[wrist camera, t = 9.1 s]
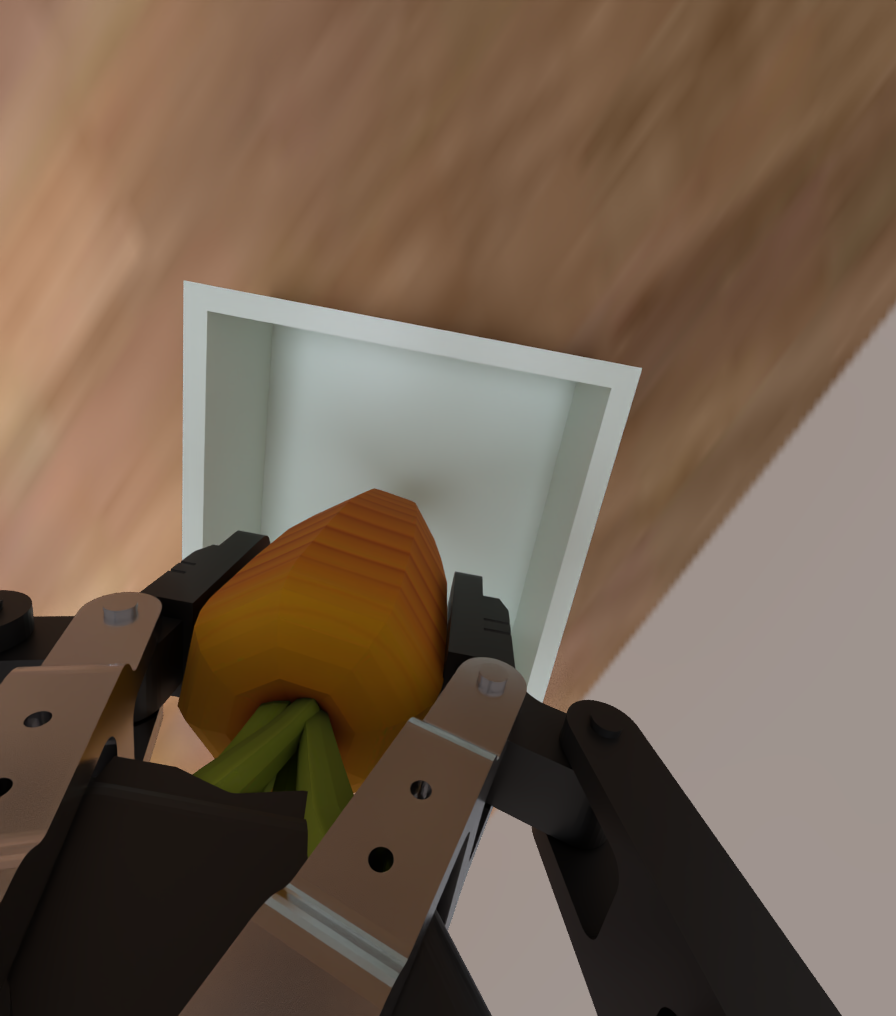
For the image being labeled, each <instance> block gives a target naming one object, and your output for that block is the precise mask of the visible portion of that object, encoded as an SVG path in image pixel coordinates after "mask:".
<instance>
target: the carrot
mask: <svg viewBox="0 0 896 1016" xmlns="http://www.w3.org/2000/svg"><path fill="white" fill-rule="evenodd" d="M446 637H447V581H446V576H445V572H444V568H443V564H442V560H441V557H440V554H439V551H438V548H437V545H436V542H435V539H434V537H433V535H432V534H431V532H430V530H429V528H428V526H427V524H426V522H425V520H424V518H423V516H422V514H421V512H420V510H419V509H418V507H417V505H416V503H415V502H413V501H411V500H408V499H405V498H402V497H400V496H397V495H394V494H391V493H388V492H385V491H382V490H379V489H375V488H374V489H371V490H369V491H366V492H364V493H362V494H359V495H357V496H355V497H353V498H351V499H349V500H346V501H344V502H342V503H340V504H338V505H335V506H333V507H331V508H329V509H327V510H325V511H322V512H320V513H318V514H316V515H314V516H312V517H310V518H308V519H306V520H304V521H302V522H301V523H299V524H297V525H295V526H293V527H291V528H289V529H288V530H287V531H285V532H284V533H283V534H282V535H281V536H279V537H278V538H277V539H276V540H275V541H273V542H272V543H271V544H270V545H269V546H267V547H266V548H265V549H264V550H262V551H261V552H260V553H259V554H258V555H256V556H255V557H254V558H253V559H252V560H251V561H250V562H249V563H247V564H246V565H245V566H244V567H243V568H242V569H241V570H240V571H239V572H238V573H237V574H235V575H234V576H233V577H232V578H231V579H230V580H229V581H228V582H227V583H226V584H225V585H223V586H222V587H221V588H220V589H219V590H218V591H217V592H216V593H215V594H214V595H212V596H211V597H210V598H209V600H208V601H207V602H206V604H205V605H204V606H203V608H202V609H201V610H200V613H199V615H198V618H197V621H196V623H195V626H194V630H193V635H192V639H191V644H190V649H189V654H188V659H187V664H186V668H185V673H184V678H183V683H182V688H181V693H180V697H179V702H178V707H179V709H180V711H181V713H182V715H183V717H184V719H185V720H186V722H187V723H188V724H189V726H190V727H191V728H192V730H193V731H194V732H195V733H196V735H197V736H198V737H199V739H200V740H201V741H202V742H203V744H204V745H205V746H206V748H207V749H208V750H209V752H210V753H211V754H212V755H213V757H214V758H215V759H214V760H213V761H211V762H210V763H208V764H207V765H205V766H204V767H202V768H201V769H200V770H198V771H197V772H195V773H194V774H193V775H194V776H196V777H198V778H200V779H202V780H204V781H206V782H208V783H210V784H212V785H215V786H217V787H219V788H221V789H223V790H225V791H227V792H231V793H258V792H280V791H302V790H303V791H308V794H307V801H306V808H305V815H304V819H306V821H307V828H308V850H307V855H308V858H309V856H310V855H311V854H312V852H313V851H314V850H315V848H316V847H317V845H318V844H319V843H320V841H321V840H322V839H323V837H324V836H325V834H326V833H327V832H328V830H329V829H330V828H331V826H332V825H333V823H334V822H335V821H336V819H337V818H338V816H339V815H340V814H341V812H342V811H343V810H344V808H345V807H346V805H347V804H348V803H349V801H350V800H351V799H352V797H353V796H354V794H353V793H355V792H357V790H358V789H359V788H360V786H361V785H362V783H363V782H364V781H365V779H366V778H367V777H368V775H369V774H370V772H371V771H372V770H373V768H374V767H375V765H376V764H377V763H378V761H379V760H380V759H381V757H382V756H383V754H384V753H385V752H386V750H387V749H388V748H389V746H390V745H391V743H392V742H393V741H394V739H395V738H396V737H397V735H398V734H399V732H400V731H401V730H402V728H403V727H404V726H405V724H406V723H407V722H408V720H409V719H410V718H412V717H417V718H419V719H421V720H423V719H424V718H425V716H426V715H427V713H428V712H429V710H430V709H431V707H432V706H433V704H434V703H435V701H436V700H437V698H438V696H439V693H440V691H441V689H442V685H443V680H444V678H443V670H444V659H445V648H446Z"/></svg>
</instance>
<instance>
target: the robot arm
mask: <svg viewBox="0 0 896 1016" xmlns="http://www.w3.org/2000/svg"><path fill="white" fill-rule="evenodd" d="M269 545H270V539H269V537H268V536H267V535H261V534H256V533H251V532H245V531H240V530H238V531H236V532H235V533H234V534H232V535H231V536H230V537H229V538H228V539H226V540H225V541H224V542H223V543H221V544H220V545H210V546H207V547H205V548H202V549H199V550H196V551H194V552H192V553H191V554H190V555H189V556H187V557H186V558H185V559H183V560H182V561H181V563H178V564H177V565H175V566H174V567H173V568H171V571H167V572H166V573H165V574H163V575H162V576H161V577H160V578H158V579H157V580H156V581H154V582H153V583H152V584H150V585H149V586H148V587H146V588H145V589H144V590H142V591H141V592H140V593H139V592H121V593H114V594H109V595H105V596H102V597H99V598H96V599H94V600H92V601H90V602H88V603H86V604H85V605H84V606H82V607H81V609H80V610H79V611H78V612H77V614H76V615H75V616H47V617H34V616H33V607H32V600H31V599H30V597H28V596H27V595H25V594H23V593H20V592H15V591H7V590H0V1016H492V1015H491V1013H490V1011H489V1010H488V1008H487V1006H486V1004H485V1002H484V1000H483V998H482V996H481V994H480V992H479V990H478V989H477V987H476V985H475V983H474V981H473V979H472V977H471V975H470V973H469V971H468V969H467V967H466V965H465V964H464V962H463V960H462V958H461V956H460V954H459V952H458V950H457V948H456V946H455V944H454V942H453V941H452V939H451V937H450V935H449V933H448V928H449V925H450V923H451V920H452V917H453V914H454V911H455V908H456V905H457V901H458V899H459V896H460V893H461V890H462V887H463V884H464V881H465V878H466V876H467V873H468V870H469V868H470V865H471V862H472V860H473V857H474V855H475V852H476V850H477V847H478V845H479V842H480V839H481V837H482V834H483V832H484V829H485V826H486V824H487V821H488V819H489V816H490V813H491V811H492V808H493V807H495V808H497V809H499V810H501V811H503V812H505V813H507V814H509V815H511V816H513V817H515V818H517V819H519V820H521V821H523V822H525V823H527V824H528V825H530V826H532V832H533V836H534V839H535V842H536V845H537V848H538V850H539V853H540V856H541V859H542V861H543V864H544V867H545V870H546V872H547V875H548V878H549V881H550V884H551V886H552V889H553V892H554V895H555V898H556V900H557V903H558V906H559V909H560V912H561V914H562V917H563V920H564V923H565V925H566V928H567V931H568V934H569V937H570V940H571V942H572V945H573V948H574V951H575V954H576V956H577V959H578V962H579V965H580V967H581V970H582V973H583V976H584V978H585V981H586V984H587V987H588V990H589V993H590V995H591V998H592V1001H593V1004H594V1007H595V1009H596V1012H597V1015H598V1016H842V1015H841V1014H840V1013H839V1011H838V1010H837V1008H836V1007H835V1005H834V1004H833V1003H832V1001H831V1000H830V998H829V997H828V996H827V994H826V993H825V991H824V990H823V989H822V987H821V986H820V984H819V983H818V982H817V980H816V978H815V977H814V976H813V974H812V973H811V972H810V970H809V969H808V967H807V966H806V964H805V963H804V962H803V960H802V959H801V957H800V956H799V954H798V953H797V952H796V950H795V949H794V948H793V946H792V945H791V943H790V942H789V940H788V939H787V938H786V936H785V935H784V933H783V932H782V930H781V929H780V928H779V926H778V925H777V923H776V922H775V920H774V919H773V918H772V916H771V915H770V913H769V912H768V910H767V909H766V908H765V907H764V905H763V903H762V902H761V901H760V899H759V898H758V897H757V895H756V893H755V892H754V891H753V889H752V888H751V886H750V885H749V884H748V882H747V881H746V879H745V878H744V876H743V875H742V874H741V872H740V871H739V869H738V868H737V867H736V865H735V864H734V862H733V861H732V859H731V858H730V857H729V855H728V854H727V853H726V851H725V850H724V848H723V847H722V845H721V844H720V842H719V841H718V840H717V838H716V837H715V835H714V834H713V832H712V831H711V830H710V828H709V827H708V825H707V824H706V823H705V821H704V820H703V818H702V817H701V815H700V814H699V813H698V811H697V810H696V808H695V807H694V806H693V804H692V803H691V801H690V800H689V798H688V797H687V796H686V794H685V793H684V791H683V790H682V789H681V787H680V786H679V784H678V783H677V781H676V780H675V779H674V777H673V776H672V774H671V773H670V772H669V770H668V769H667V767H666V766H665V764H664V763H663V762H662V760H661V759H660V758H659V756H658V755H657V753H656V752H655V750H654V749H653V747H652V746H651V745H650V743H649V742H648V741H647V739H646V738H645V736H644V735H643V733H642V732H641V730H640V729H639V728H638V726H637V725H636V724H635V723H634V722H633V720H631V718H629V717H628V716H627V715H626V714H625V713H623V712H622V711H620V710H618V709H617V708H615V707H613V706H611V705H608V704H606V703H602V702H599V701H594V700H582V701H577V702H575V703H573V704H572V705H571V706H570V707H569V709H568V711H567V713H564V712H562V711H559V710H557V709H555V708H552V707H550V706H548V705H546V704H544V703H542V702H540V701H538V700H537V699H535V698H534V697H532V696H531V695H530V694H529V693H528V692H526V691H527V685H526V681H525V679H524V678H523V676H522V675H521V674H520V673H519V672H518V671H517V670H516V669H515V661H514V652H513V644H512V636H511V627H510V618H509V610H508V609H507V608H506V607H505V605H504V604H503V603H502V601H501V600H500V599H499V598H494V597H488V596H483V578H482V576H478V575H472V574H467V573H462V572H456V571H455V573H454V577H453V582H452V587H451V591H450V596H449V601H448V606H447V637H446V648H445V659H444V670H443V678H444V680H443V685H442V689H441V691H440V693H439V696H438V698H437V700H436V701H435V703H434V704H433V706H432V707H431V709H430V710H429V712H428V713H427V715H426V716H425V718H424V719H423V720H421V719H419V718H417V717H412V718H410V719H409V720H408V722H407V723H406V724H405V726H404V727H403V728H402V730H401V731H400V732H399V734H398V735H397V737H396V738H395V739H394V741H393V742H392V743H391V745H390V746H389V748H388V749H387V750H386V752H385V753H384V754H383V756H382V757H381V759H380V760H379V761H378V763H377V764H376V765H375V767H374V768H373V770H372V771H371V772H370V774H369V775H368V777H367V778H366V779H365V781H364V782H363V783H362V785H361V786H360V788H359V789H358V790H357V792H356V793H355V794H354V796H353V797H352V799H351V800H350V801H349V803H348V804H347V805H346V807H345V808H344V810H343V811H342V812H341V814H340V815H339V816H338V818H337V819H336V821H335V822H334V823H333V825H332V826H331V828H330V829H329V830H328V832H327V833H326V834H325V836H324V837H323V839H322V840H321V841H320V843H319V844H318V845H317V847H316V848H315V850H314V851H313V852H312V854H311V855H310V856H309V858H308V855H307V850H308V828H307V821H306V819H304V815H305V808H306V801H307V794H308V791H303V790H302V791H280V792H258V793H231V792H227V791H225V790H223V789H221V788H219V787H217V786H215V785H212V784H210V783H208V782H206V781H204V780H202V779H200V778H198V777H196V776H194V775H192V774H189V773H187V772H185V771H183V770H181V769H179V768H177V767H173V766H167V765H162V764H157V763H151V762H150V759H151V756H152V753H153V749H154V746H155V743H156V740H157V736H158V733H159V730H160V727H161V723H162V720H163V704H164V703H165V702H166V700H167V699H168V698H169V697H170V696H176V697H180V693H181V688H182V683H183V678H184V673H185V668H186V664H187V659H188V654H189V649H190V644H191V639H192V635H193V630H194V626H195V623H196V621H197V618H198V615H199V613H200V610H201V609H202V608H203V606H204V605H205V604H206V602H207V601H208V600H209V598H210V597H211V596H212V595H214V594H215V593H216V592H217V591H218V590H219V589H220V588H221V587H222V586H223V585H225V584H226V583H227V582H228V581H229V580H230V579H231V578H232V577H233V576H234V575H235V574H237V573H238V572H239V571H240V570H241V569H242V568H243V567H244V566H245V565H246V564H247V563H249V562H250V561H251V560H252V559H253V558H254V557H255V556H256V555H258V554H259V553H260V552H261V551H262V550H264V549H265V548H266V547H267V546H269Z"/></svg>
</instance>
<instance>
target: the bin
mask: <svg viewBox="0 0 896 1016" xmlns="http://www.w3.org/2000/svg"><path fill="white" fill-rule="evenodd" d="M641 371H642V368H638V367H633V366H628V365H623V364H618V363H612V362H607V361H602V360H597V359H591V358H586V357H581V356H576V355H571V354H565V353H560V352H555V351H550V350H544V349H539V348H534V347H529V346H524V345H518V344H513V343H508V342H503V341H497V340H492V339H487V338H482V337H477V336H471V335H466V334H461V333H456V332H450V331H445V330H440V329H435V328H430V327H424V326H419V325H414V324H409V323H403V322H398V321H393V320H388V319H383V318H377V317H372V316H367V315H362V314H356V313H351V312H346V311H341V310H336V309H330V308H325V307H320V306H315V305H309V304H304V303H299V302H294V301H289V300H283V299H278V298H273V297H268V296H262V295H257V294H252V293H247V292H242V291H236V290H231V289H226V288H221V287H215V286H210V285H205V284H200V283H195V282H189V281H184V311H183V501H182V560H183V559H185V558H186V557H187V556H189V555H190V554H191V553H192V552H194V551H196V550H199V549H202V548H205V547H207V546H210V545H220V544H221V543H223V542H224V541H225V540H226V539H228V538H229V537H230V536H231V535H232V534H234V533H235V532H236V531H238V530H240V531H245V532H251V533H256V534H261V535H267V536H268V537H269V539H270V544H271V543H272V542H273V541H275V540H276V539H277V538H278V537H279V536H281V535H282V534H283V533H284V532H285V531H287V530H288V529H289V528H291V527H293V526H295V525H297V524H299V523H301V522H302V521H304V520H306V519H308V518H310V517H312V516H314V515H316V514H318V513H320V512H322V511H325V510H327V509H329V508H331V507H333V506H335V505H338V504H340V503H342V502H344V501H346V500H349V499H351V498H353V497H355V496H357V495H359V494H362V493H364V492H366V491H369V490H371V489H374V488H375V489H379V490H382V491H385V492H388V493H391V494H394V495H397V496H400V497H402V498H405V499H408V500H411V501H413V502H415V503H416V505H417V507H418V509H419V510H420V512H421V514H422V516H423V518H424V520H425V522H426V524H427V526H428V528H429V530H430V532H431V534H432V535H433V537H434V539H435V542H436V545H437V548H438V551H439V554H440V557H441V560H442V564H443V568H444V572H445V576H446V581H447V606H448V601H449V596H450V591H451V587H452V582H453V577H454V573H455V571H456V572H462V573H467V574H472V575H478V576H482V578H483V596H488V597H494V598H499V599H500V600H501V601H502V603H503V604H504V605H505V607H506V608H507V609H508V610H509V618H510V627H511V636H512V644H513V652H514V661H515V669H516V670H517V671H518V672H519V673H520V674H521V675H522V676H523V678H524V679H525V681H526V685H527V691H526V692H528V693H529V694H530V695H531V696H532V697H534V698H535V699H537V700H538V701H540V702H543V699H544V696H545V692H546V689H547V686H548V682H549V679H550V676H551V672H552V669H553V666H554V662H555V659H556V656H557V652H558V649H559V645H560V642H561V639H562V635H563V632H564V629H565V625H566V622H567V619H568V615H569V612H570V609H571V605H572V602H573V599H574V595H575V592H576V589H577V585H578V582H579V578H580V575H581V572H582V568H583V565H584V562H585V558H586V555H587V552H588V548H589V545H590V542H591V538H592V535H593V532H594V528H595V525H596V521H597V518H598V515H599V511H600V508H601V505H602V501H603V498H604V495H605V491H606V488H607V485H608V481H609V478H610V475H611V471H612V468H613V464H614V461H615V458H616V454H617V451H618V448H619V444H620V441H621V438H622V434H623V431H624V428H625V424H626V421H627V418H628V414H629V411H630V408H631V404H632V401H633V397H634V394H635V391H636V387H637V384H638V381H639V377H640V374H641Z"/></svg>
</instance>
